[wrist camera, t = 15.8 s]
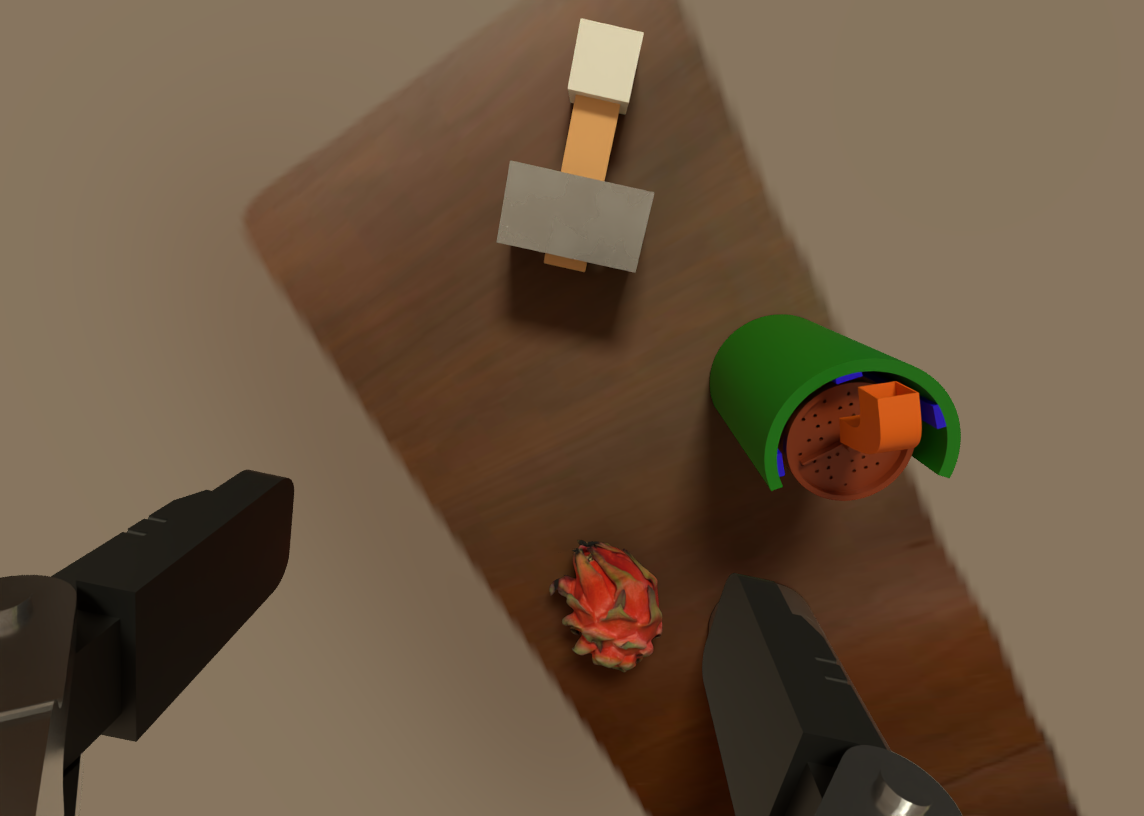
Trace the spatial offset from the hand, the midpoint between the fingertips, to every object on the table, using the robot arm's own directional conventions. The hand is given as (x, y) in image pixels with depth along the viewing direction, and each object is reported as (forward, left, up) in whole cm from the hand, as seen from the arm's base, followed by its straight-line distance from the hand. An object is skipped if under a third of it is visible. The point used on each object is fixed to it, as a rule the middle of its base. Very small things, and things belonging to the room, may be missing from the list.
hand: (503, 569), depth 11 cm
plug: (+8, -7, -36) cm, 38 cm away
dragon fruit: (-20, +12, -36) cm, 43 cm away
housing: (+5, -4, -36) cm, 37 cm away
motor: (-13, -10, -36) cm, 40 cm away
